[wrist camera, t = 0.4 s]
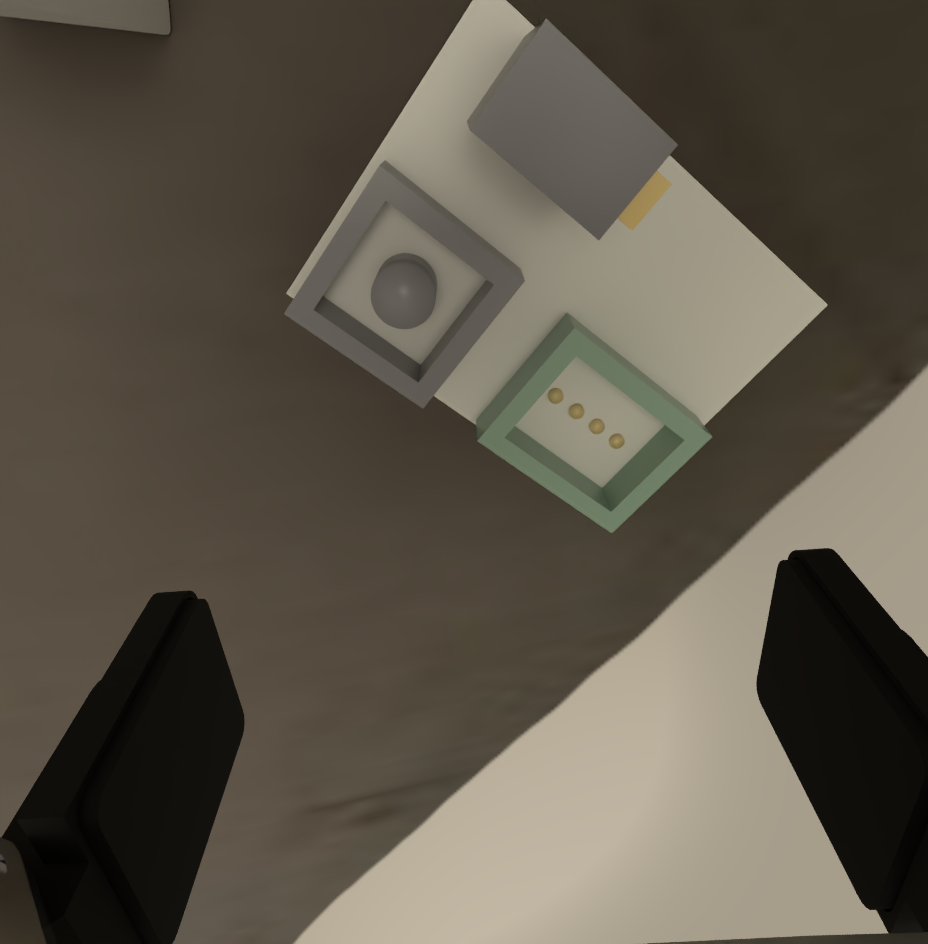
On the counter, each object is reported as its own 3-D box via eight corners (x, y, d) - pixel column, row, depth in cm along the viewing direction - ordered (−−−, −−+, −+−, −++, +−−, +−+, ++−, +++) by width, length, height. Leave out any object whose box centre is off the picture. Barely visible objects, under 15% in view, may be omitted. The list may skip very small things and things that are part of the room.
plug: (524, 36, 29) (546, 18, 22) (640, 144, 31) (693, 160, 24) (466, 121, 30) (469, 130, 23) (580, 219, 32) (614, 254, 25)
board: (484, -16, 29) (487, -30, 26) (816, 298, 35) (853, 319, 32) (291, 287, 35) (274, 307, 32) (605, 506, 42) (618, 542, 38)
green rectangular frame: (566, 312, 34) (574, 327, 32) (696, 415, 37) (712, 436, 35) (475, 419, 37) (477, 441, 35) (603, 508, 40) (611, 533, 38)
